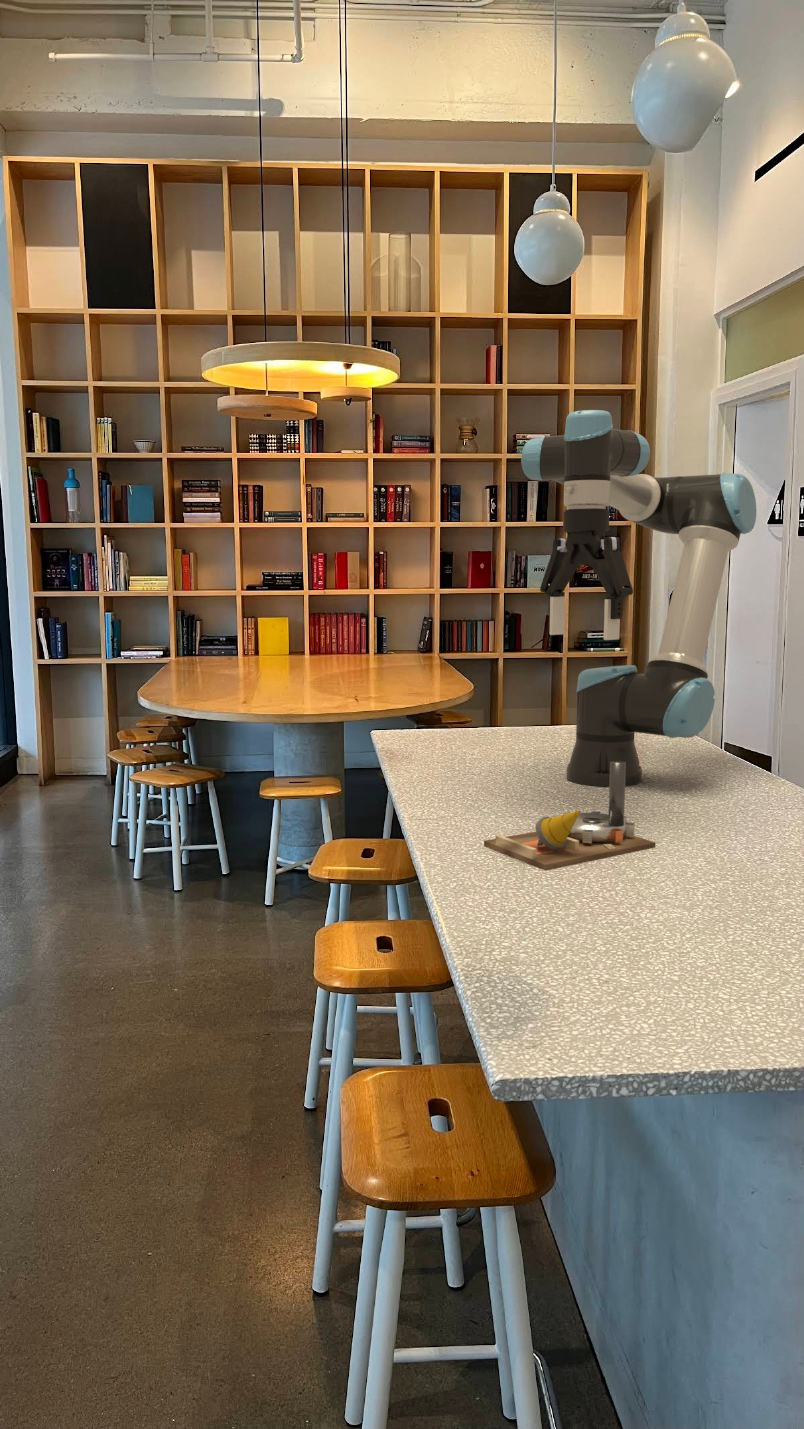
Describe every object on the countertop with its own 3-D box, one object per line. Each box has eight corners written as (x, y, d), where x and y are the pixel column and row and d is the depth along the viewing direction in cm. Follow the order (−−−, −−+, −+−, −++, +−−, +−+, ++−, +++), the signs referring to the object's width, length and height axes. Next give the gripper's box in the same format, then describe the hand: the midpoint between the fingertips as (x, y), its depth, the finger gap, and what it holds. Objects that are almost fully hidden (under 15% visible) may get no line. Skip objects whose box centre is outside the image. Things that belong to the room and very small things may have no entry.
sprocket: (585, 847, 154) (587, 771, 152) (533, 828, 166) (534, 756, 164) (651, 836, 160) (654, 762, 159) (597, 818, 172) (599, 749, 170)
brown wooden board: (484, 846, 160) (484, 831, 160) (589, 827, 172) (590, 813, 171) (545, 871, 148) (545, 854, 147) (655, 848, 159) (655, 833, 159)
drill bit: (556, 850, 158) (599, 817, 152) (541, 865, 154) (585, 832, 148) (533, 823, 159) (575, 790, 153) (518, 838, 155) (561, 803, 149)
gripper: (521, 510, 177) (519, 633, 180) (622, 504, 156) (618, 642, 159) (554, 511, 181) (552, 631, 184) (658, 505, 160) (653, 640, 163)
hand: (583, 637), depth 171 cm, fingers open, 13 cm apart
